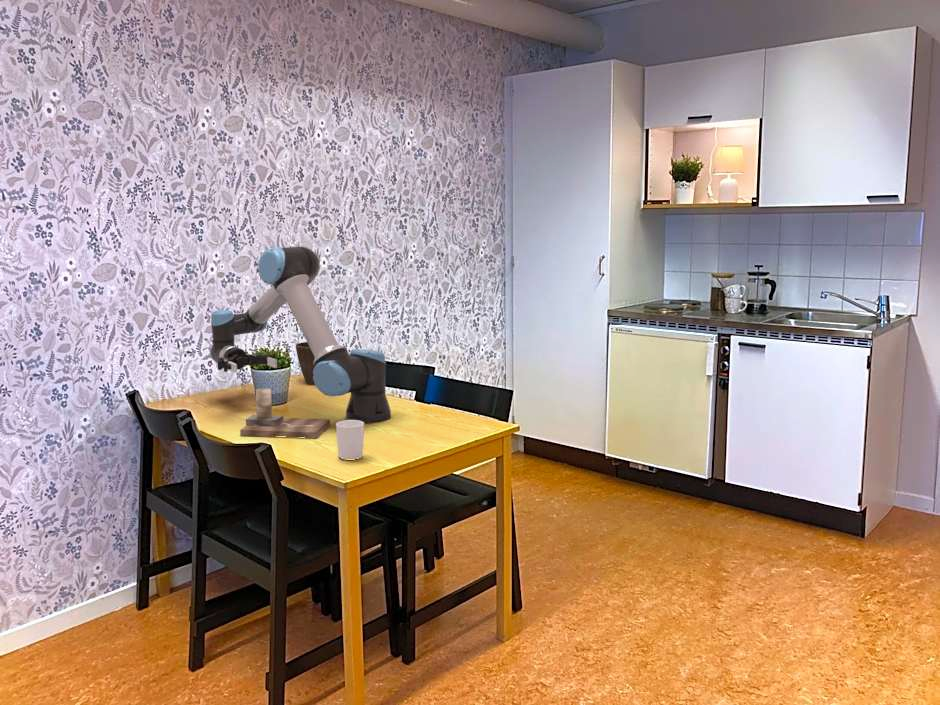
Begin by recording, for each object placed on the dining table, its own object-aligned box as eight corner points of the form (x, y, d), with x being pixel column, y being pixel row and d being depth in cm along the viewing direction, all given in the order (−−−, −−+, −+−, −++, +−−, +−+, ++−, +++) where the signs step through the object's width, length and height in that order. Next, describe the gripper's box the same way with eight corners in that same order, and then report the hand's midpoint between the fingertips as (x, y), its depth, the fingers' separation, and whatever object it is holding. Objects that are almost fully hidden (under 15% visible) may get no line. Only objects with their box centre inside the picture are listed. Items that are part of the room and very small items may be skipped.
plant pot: (289, 385, 321) (288, 345, 319) (308, 378, 335) (307, 340, 333) (322, 388, 317) (321, 348, 314) (340, 380, 331) (339, 342, 328)
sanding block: (283, 421, 258) (282, 388, 256) (276, 426, 252) (275, 392, 250) (253, 420, 259) (251, 387, 257) (246, 425, 253) (244, 391, 251)
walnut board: (330, 425, 262) (330, 419, 262) (316, 438, 246) (316, 432, 246) (258, 422, 264) (258, 416, 264) (240, 436, 249) (240, 429, 248)
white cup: (368, 454, 231) (368, 421, 229) (357, 462, 223) (357, 427, 222) (343, 452, 233) (343, 418, 231) (331, 460, 226) (331, 425, 224)
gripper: (268, 364, 289) (292, 372, 272) (198, 372, 274) (219, 381, 257) (267, 343, 288) (291, 350, 271) (197, 350, 273) (217, 358, 256)
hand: (256, 366), depth 264 cm, fingers open, 13 cm apart
